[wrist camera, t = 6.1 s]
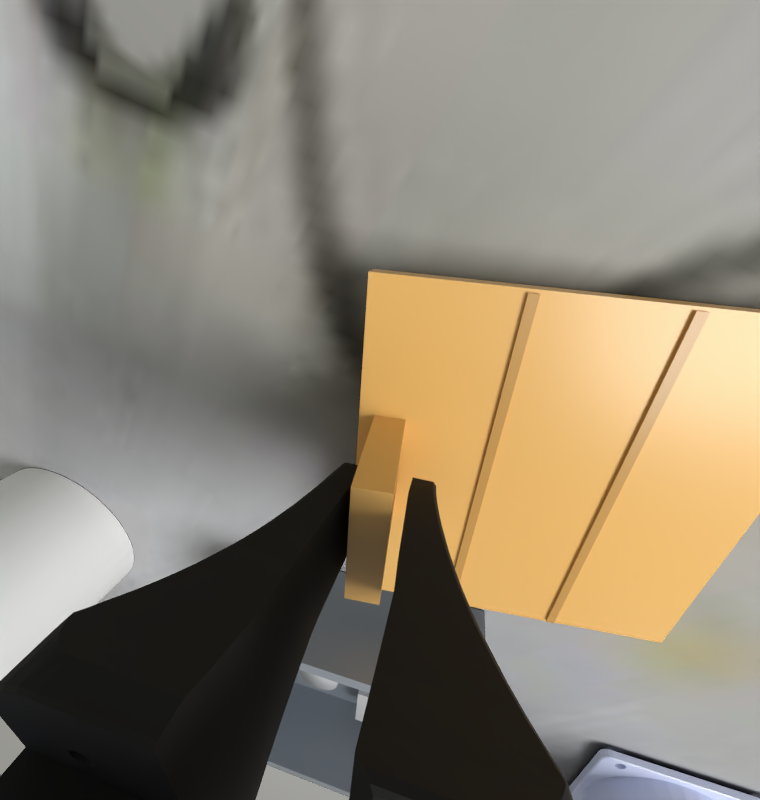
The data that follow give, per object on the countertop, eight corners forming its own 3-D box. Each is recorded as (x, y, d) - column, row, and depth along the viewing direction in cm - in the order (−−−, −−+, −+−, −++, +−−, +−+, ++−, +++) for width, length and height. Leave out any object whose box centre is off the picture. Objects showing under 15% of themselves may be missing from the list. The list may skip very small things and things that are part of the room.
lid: (834, 314, 9) (1192, 387, 5) (641, 606, 15) (727, 764, 11) (377, 266, 11) (333, 292, 6) (355, 554, 16) (325, 676, 12)
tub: (484, 611, 17) (488, 724, 13) (443, 726, 22) (437, 831, 18) (261, 549, 19) (207, 631, 15) (273, 668, 24) (234, 752, 21)
